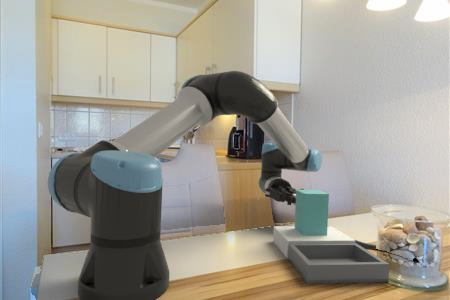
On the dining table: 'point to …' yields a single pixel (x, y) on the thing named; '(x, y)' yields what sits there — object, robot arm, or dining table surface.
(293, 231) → the white flat box
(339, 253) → the tray
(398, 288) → the dining table surface
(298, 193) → the block
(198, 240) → the dining table surface
